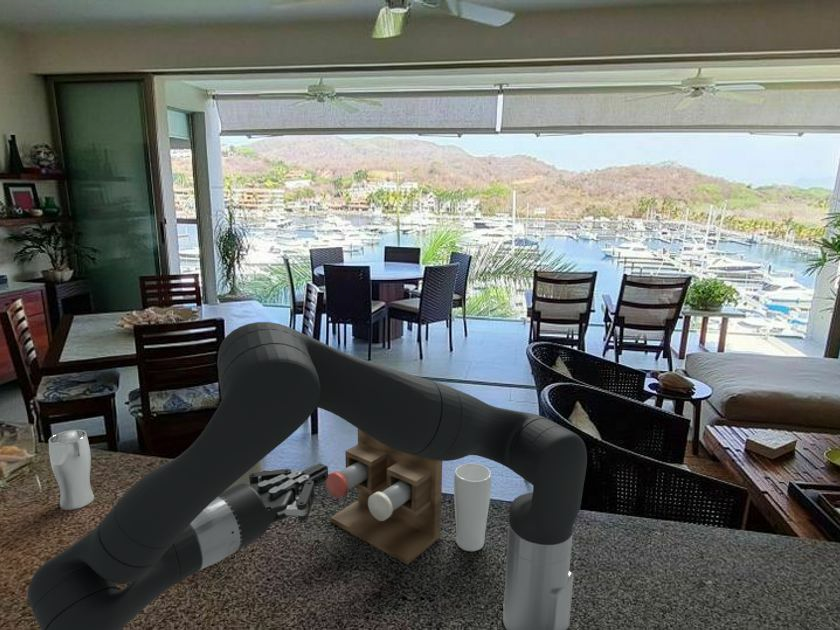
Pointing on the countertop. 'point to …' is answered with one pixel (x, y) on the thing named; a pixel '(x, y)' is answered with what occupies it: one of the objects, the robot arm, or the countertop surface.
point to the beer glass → (72, 468)
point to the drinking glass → (471, 505)
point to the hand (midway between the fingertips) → (324, 469)
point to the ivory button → (389, 500)
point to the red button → (346, 479)
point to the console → (410, 521)
